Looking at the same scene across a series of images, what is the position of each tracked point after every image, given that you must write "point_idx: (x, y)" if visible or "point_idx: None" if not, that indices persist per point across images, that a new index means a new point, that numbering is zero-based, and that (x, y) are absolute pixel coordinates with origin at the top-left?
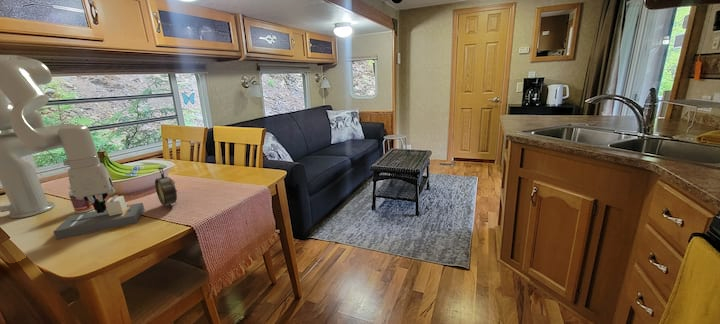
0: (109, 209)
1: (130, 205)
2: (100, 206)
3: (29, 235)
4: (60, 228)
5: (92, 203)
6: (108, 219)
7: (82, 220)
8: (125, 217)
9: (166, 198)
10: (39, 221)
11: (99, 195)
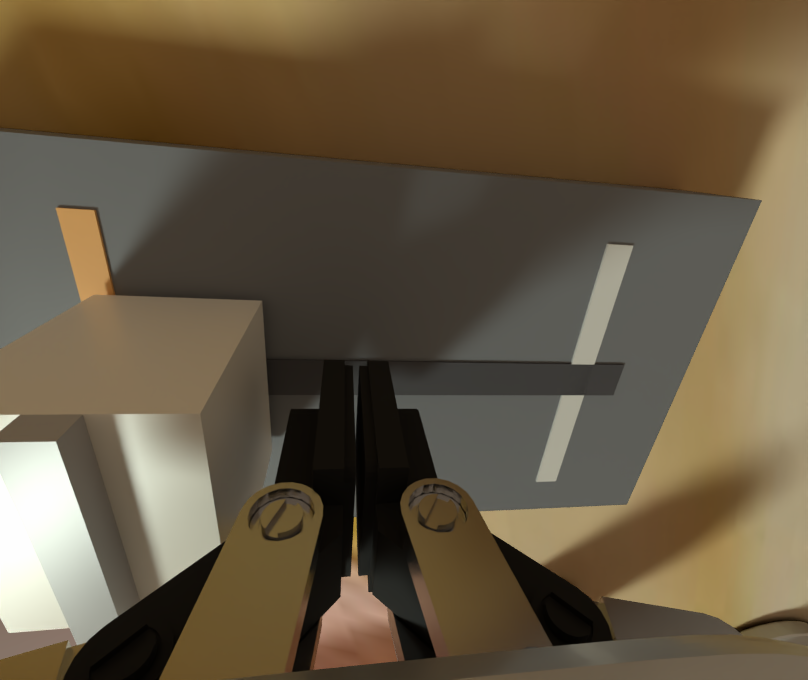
0: (208, 339)
1: None
2: (325, 412)
3: (802, 391)
4: (703, 247)
5: None
6: (246, 206)
7: (532, 352)
8: None
9: None
10: (734, 557)
11: (242, 653)
